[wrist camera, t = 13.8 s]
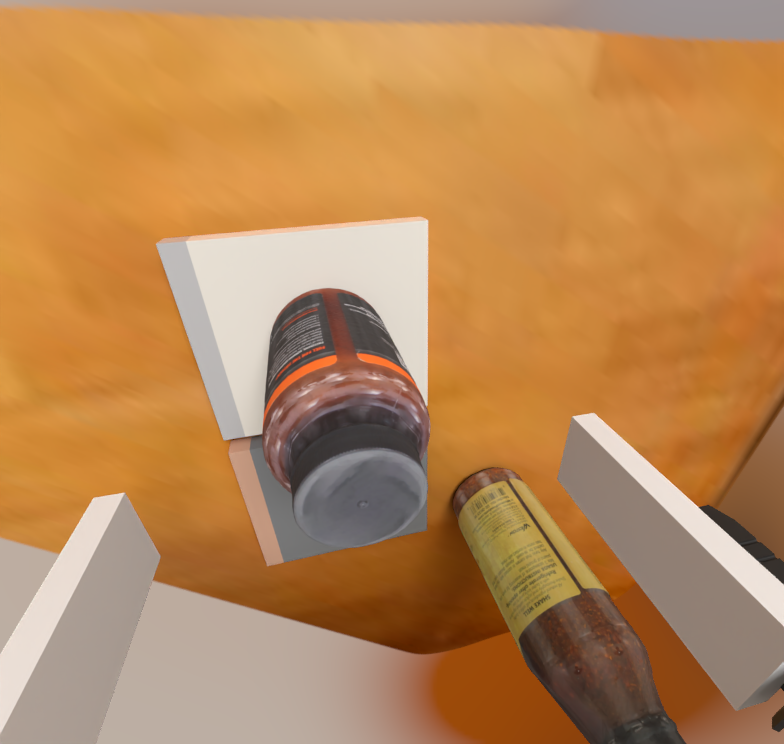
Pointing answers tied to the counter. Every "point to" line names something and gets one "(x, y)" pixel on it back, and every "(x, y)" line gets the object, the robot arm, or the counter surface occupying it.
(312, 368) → the supplement bottle
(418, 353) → the cream square tile
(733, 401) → the counter surface
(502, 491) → the sauce bottle
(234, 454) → the grey square coaster
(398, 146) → the counter surface
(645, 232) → the counter surface
